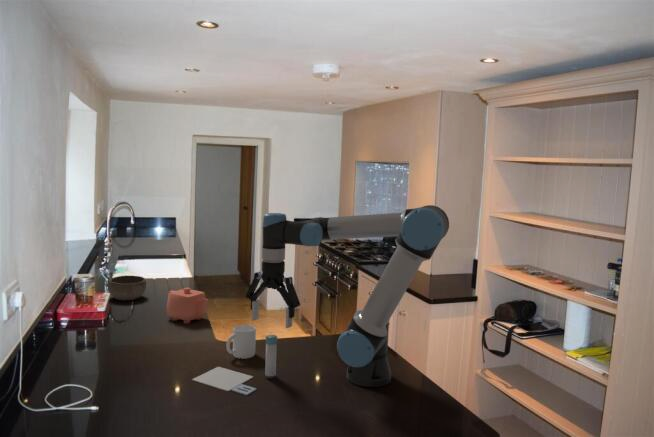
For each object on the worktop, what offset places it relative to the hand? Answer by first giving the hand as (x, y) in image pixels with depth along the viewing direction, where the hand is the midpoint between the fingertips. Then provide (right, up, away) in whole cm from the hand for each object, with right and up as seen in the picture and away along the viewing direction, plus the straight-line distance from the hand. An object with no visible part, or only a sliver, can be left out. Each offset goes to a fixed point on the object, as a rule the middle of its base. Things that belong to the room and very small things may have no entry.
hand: (271, 323), depth 175 cm
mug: (-14, -16, +19) cm, 29 cm away
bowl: (-82, -6, +90) cm, 122 cm away
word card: (-8, -19, -9) cm, 23 cm away
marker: (-1, -18, +2) cm, 19 cm away
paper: (-16, -18, -1) cm, 24 cm away
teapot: (-44, -10, +60) cm, 75 cm away
